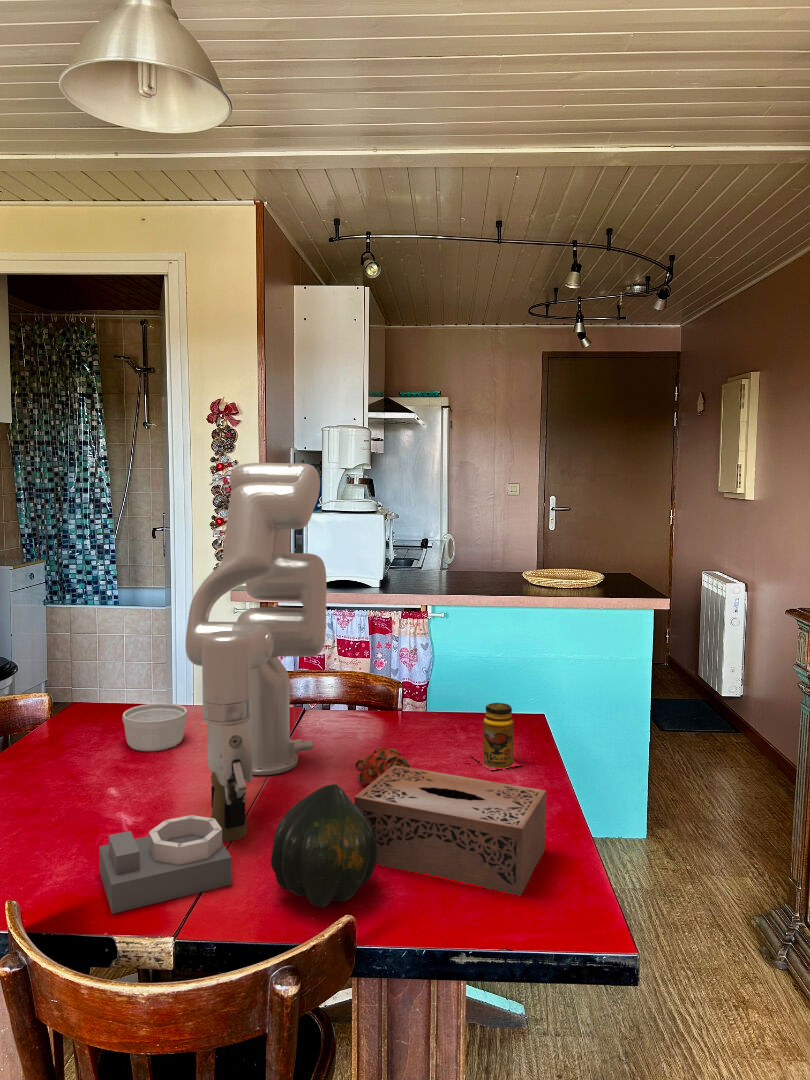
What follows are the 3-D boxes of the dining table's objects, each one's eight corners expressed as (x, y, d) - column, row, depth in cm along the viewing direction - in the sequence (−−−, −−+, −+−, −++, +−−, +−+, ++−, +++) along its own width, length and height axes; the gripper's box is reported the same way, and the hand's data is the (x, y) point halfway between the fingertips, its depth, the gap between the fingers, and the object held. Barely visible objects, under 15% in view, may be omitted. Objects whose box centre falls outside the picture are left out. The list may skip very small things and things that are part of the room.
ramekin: (200, 740, 170) (199, 709, 169) (151, 758, 159) (150, 725, 158) (159, 729, 177) (158, 699, 176) (109, 746, 166) (109, 714, 165)
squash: (265, 892, 98) (340, 792, 101) (241, 844, 112) (307, 758, 115) (346, 945, 103) (415, 848, 106) (313, 894, 116) (375, 809, 120)
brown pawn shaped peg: (238, 843, 122) (237, 775, 121) (202, 839, 124) (201, 772, 123) (253, 826, 128) (252, 761, 127) (218, 823, 129) (218, 758, 129)
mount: (209, 848, 120) (209, 808, 120) (231, 884, 110) (231, 840, 109) (99, 872, 113) (98, 829, 112) (112, 913, 102) (111, 866, 102)
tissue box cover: (353, 861, 118) (354, 796, 117) (392, 822, 131) (393, 764, 130) (520, 898, 107) (522, 829, 107) (544, 853, 121) (546, 790, 120)
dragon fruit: (411, 808, 139) (358, 802, 146) (428, 769, 145) (377, 764, 152) (390, 779, 135) (337, 774, 142) (409, 739, 141) (357, 736, 148)
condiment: (490, 772, 153) (491, 712, 152) (470, 757, 161) (471, 700, 160) (522, 767, 156) (524, 708, 155) (501, 753, 164) (502, 697, 163)
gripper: (267, 720, 118) (267, 834, 120) (234, 692, 134) (235, 793, 135) (218, 728, 115) (219, 844, 116) (190, 698, 130) (191, 801, 131)
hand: (228, 816), depth 126 cm, fingers open, 6 cm apart
